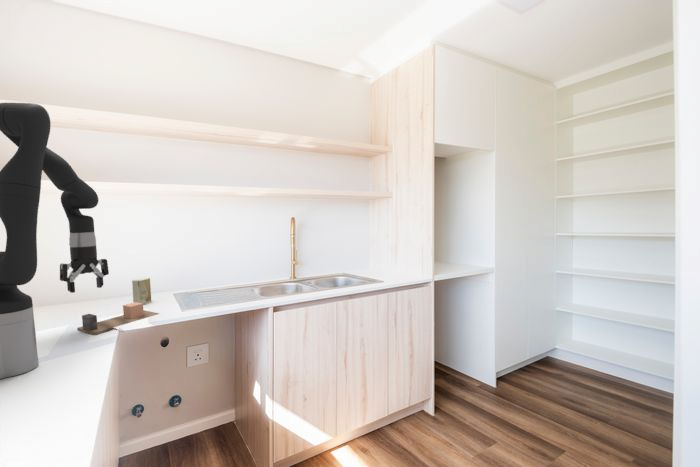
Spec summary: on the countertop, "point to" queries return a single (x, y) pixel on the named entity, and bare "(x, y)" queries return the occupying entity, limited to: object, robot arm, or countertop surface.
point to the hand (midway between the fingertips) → (86, 289)
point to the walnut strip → (107, 322)
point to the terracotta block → (133, 310)
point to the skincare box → (141, 290)
